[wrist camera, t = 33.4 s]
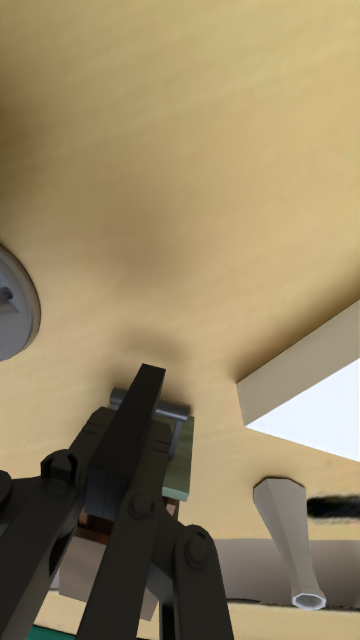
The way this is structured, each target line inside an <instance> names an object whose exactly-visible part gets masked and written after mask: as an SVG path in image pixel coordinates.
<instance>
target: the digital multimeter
mask: <svg viewBox="0 0 360 640" xmlns="http://www.w3.org/2000/svg"><path fill="white" fill-rule="evenodd" d="M75 637H76V636H73V635H69V634H65V633H61V632H57V631H53V630H49V629H45V628H41V627H37V626H33V625H32V628H31V630H30V632H29V634H28V636H27V639H26V640H75Z"/></svg>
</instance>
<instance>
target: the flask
mask: <svg viewBox="0 0 360 640" xmlns="http://www.w3.org/2000/svg"><path fill="white" fill-rule="evenodd" d="M254 504H255V506H256V508H257V510H258V512H259V513H260V515H261V517H262V519H263V521H264V523H265V525H266V526H267V528H268V530H269V532H270V534H271V536H272V538H273V540H274V542H275V544H276V546H277V548H278V550H279V552H280V554H281V557H282V560H283V562H284V565H285V567H286V570H287V573H288V576H289V580H290V584H291V588H292V595H291V600H292V604H294V605H296V606H298V607H300V608H302V609H308V610H318V609H320V608H322V607H324V606H325V602H326V598H325V596H324V593H323V592H322V591H320V589H319V586H318V584H317V580H316V577H315V574H314V571H313V566H312V560H311V555H310V550H309V539H308V525H307V506H306V489H305V488H303V487H301V486H300V485H298V484H296V483H294V482H292V481H291V480H289V479H266V480H264V481H263V482H262V483H261V484H260V485H258V486H257V487H256V488H255V489H254Z"/></svg>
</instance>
